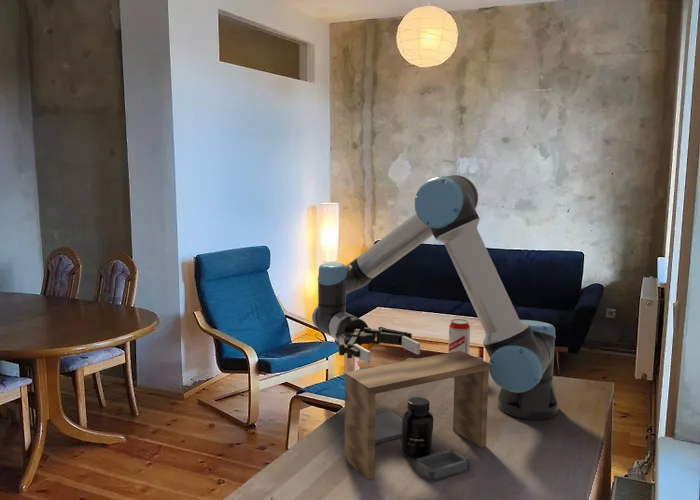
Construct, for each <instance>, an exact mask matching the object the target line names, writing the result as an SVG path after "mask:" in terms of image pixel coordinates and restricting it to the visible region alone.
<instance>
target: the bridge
mask: <svg viewBox="0 0 700 500" xmlns="http://www.w3.org/2000/svg"><path fill="white" fill-rule="evenodd" d="M489 374H490V372H489V362H488V361H485V360H483V359H480V358H478V357H476V356H473V355H471V354H470V353H469V354H467V353H464V352H462V351H457V352H451V353H448V352H447V353H440V354H436V355H430V356H426V357H420V358H416V359H414V358H413V359H410V360H404V361H400V362H395V363H388V364H384V365H377V366H373V367H368V368H363V369H358V370H351V371H347V372H346V371H345V372H344V460H345V461H346V462H347V463H348V464H350V465H351V466H352V467H354V469H356V470H357V471H358V473H360V474H361V475H362V476H364V478H365V479H367V480H372V479H375V477H376V476H375V475H376V474H375V470H376V469H375V468H376V467H375V466H376V465H375V464H376V463H375V461H376V459H375V457H376V443H375V415H376V395H378V394H382V393H386V392H391V391H396V390H400V389H404V388H410V387H415V386H419V385H424V384H427V383H433V382H438V381H443V380H446V379H452V378H454V380H453V381H454V384H453V385H454V386H453V414H452V415H453V417H452V423H453V424H452V431H454V432H455V433H457V434H459V435H460V436H462V437H463V438H465V439H467V440H469V442H471V443H473V444H475V445H476V446H478V447H480V448H483V447H487V429H488V428H487V427H488V425H487V424H488V406H489V405H488V401H489V400H488V398H489V378H490V377H489V376H490V375H489Z"/></svg>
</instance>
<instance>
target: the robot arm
mask: <svg viewBox="0 0 700 500" xmlns="http://www.w3.org/2000/svg"><path fill="white" fill-rule="evenodd" d="M478 203H479V193H478V190H477V187H476V186H475V184H474V183H473V182H472V181H471V180H470V179H468V178H467V177H465V176H462V175H456V174H454V175H447V176H445V175H439V176H436V177H433V178H430V179H428V180H426V181H425V182H424V183H422V184H421V186H420V187H419V188H418V190H417V192H416V194H415V199H414V211H415V213H414V214H413V215H411V216H410V217H408V219H406V220H404V221H403V222H402V223H401V224H399V225H398V226H396V227H395V228H394V229H392V230H391V231H389V232H388V233H387V234H386V235H384V237H382V238H381V239H379V240H378V241H377V242H376V243H374V244H373V245H372V246H370V247H369V248H368V249H366V250H365V251H364V252H362V253H361V254H360V255H359V256H357V257H356V258H354V259H353V260H352V261H350V262H349V263H348V264H347V265H345V264H343V263H340V262H328V263H327V262H325V263H322V264H320V265H319V267H318V274H317V292H318V293H317V295H318V296H317V297H318V299H317V300H318V305H317V306H316V307H315V308H314V310H313V313H312V315H311V316H312V318H311V322H312V323H313V325H314V326H315V328H317V330H319V331H320V332H321V333H323V334H326V335H328V336H330V337H331V338H334V339H335V344H336V345H337V346H338V355H339V356H340V357H341V356H344V355H345V354H346V357H347V359H353V357H354V358H357V359H359V360H361V361H362V362H364V363H365V364H367V365H368V364H371V360H372V359H371V355H372V353H371V352H372V351H370V350H368V349H366V348H365V347H363V345H371V344H372V345H380V344H388V345H396V346H401V348H403V349H405V350H407V351H409V352H410V353H413V354H415V355H421V343H420V342H418V341H416V340H415V339H413V337H412V335H413V333H411V332H408V331H400V330H396V329H390V328H385V327H383V326H378V329H375V328H374V329H373V328H371V327H369V326H368V324H367V322H365V321H364V319H361V318H359V317H357V316H355V315H352V314H351V313H348V312H347V311H346V310H347V309H346V308H347V306H346V305H347V295H348V294H349V293H352V292H354V291H357V290H360V289H362V288H364V287H366V286H367V285H368V284H369V283H371V280H373V279H375V278H376V277H377V276H378V275H379V274H381V273H382V272H384V271H386V270H387V269H388V268H390V267H391V266H392V265H394V264H395V263H397V262H398V261H399V260H401V259H402V258H403V257H404V256H406V255H408V254H409V253H410V252H412V251H413V250H414V249H416V248H417V247H418V246H420V245H421V244H423V243H425V241H427V240H429V239H430V238H431V237H432V236H433V238H434V239H435V241H438V242H440V243H443V245H444V246H445V248H446V251H447V252H448V255H449V257H450V259H451V261H452V264H453V266H454V268H455V270H456V272H457V275H458V276H459V278H460V281H461V283H462V286H463V287H464V290H465V292H466V294H467V296H468V298H469V301H470V302H471V304H472V307H473V309H474V311H475V313H476V316H477V317H478V320H479V322H480V324H481V327H482V328H483V332H484V334H485V336H484V339H483V341H482V344H483V347H484V349H485V351H486V352H487V355H488V357H489V360H488V361H489V362H488V363H489V374H490V375H489V376H491V379H492V380H493V382H494V383H495V384H496V385H497V386H498V387H499V388H501V389H500V391H499V394H498V396H497V407H498V408H499V409H500V411H502V412H503V413H505V414H508V415H509V416H512V417H514V418H515V417H516V418H519V419H526V420H547V419H551V418H553V417H555V416H556V415H557V414H558V413H559V400H558V397H557V393H556V388H555V386H554V383H553V381H554V380H553V377H554V364H555V363H554V360H555V345H556V343H555V341H556V338H557V336H556V327H555V326H554V325H553V324H551V323H548V322H544V321H539V320H529V319H520V317H518V314H517V311H516V309H515V308H514V305H513V303H512V300H511V299H510V297H509V295H508V292H507V290H506V288H505V286H504V283H503V281H502V280H501V277H500V275H499V273H498V271H497V268H496V265H495V264H494V263H493V259H492V258H491V256H490V254H489V251H488V249H487V248H486V245H485V243H484V240H483V237H482V236H481V234H480V232H479V230H478V226H479V223H480V219H481V218H480V217H479V215H478V212H477V209H476V208H477V207H478Z"/></svg>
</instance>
